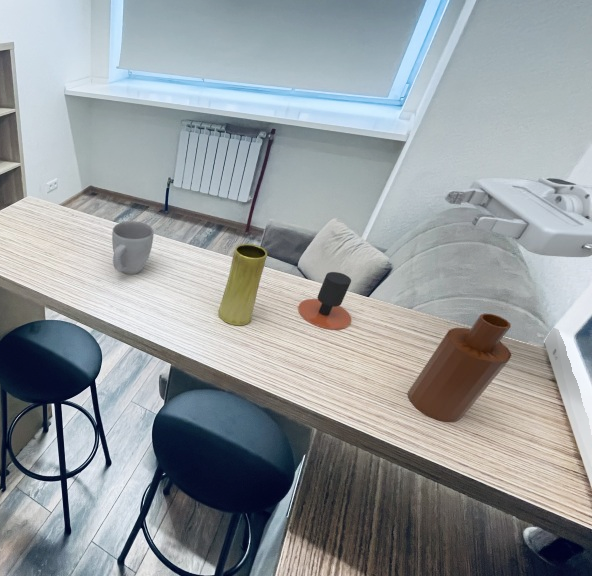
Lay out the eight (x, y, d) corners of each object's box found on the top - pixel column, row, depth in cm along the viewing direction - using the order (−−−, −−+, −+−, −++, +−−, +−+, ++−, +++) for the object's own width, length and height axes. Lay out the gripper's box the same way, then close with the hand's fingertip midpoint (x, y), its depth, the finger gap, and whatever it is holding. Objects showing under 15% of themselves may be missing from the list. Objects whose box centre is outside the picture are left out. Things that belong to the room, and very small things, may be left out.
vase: (212, 308, 80) (225, 244, 72) (240, 303, 81) (256, 240, 73) (228, 328, 75) (245, 262, 67) (257, 322, 76) (278, 257, 68)
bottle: (472, 414, 59) (543, 330, 50) (441, 427, 57) (508, 343, 48) (427, 382, 64) (483, 300, 55) (397, 394, 62) (450, 311, 53)
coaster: (362, 322, 76) (362, 321, 75) (325, 334, 73) (325, 333, 73) (322, 296, 83) (323, 294, 82) (287, 306, 80) (288, 304, 80)
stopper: (340, 316, 77) (356, 281, 72) (324, 321, 76) (339, 286, 71) (323, 304, 80) (337, 270, 75) (307, 309, 79) (321, 274, 74)
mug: (122, 254, 98) (124, 217, 92) (156, 264, 94) (160, 226, 88) (96, 278, 90) (97, 239, 84) (132, 290, 86) (135, 250, 80)
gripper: (613, 275, 52) (483, 260, 55) (522, 210, 68) (426, 202, 71) (652, 230, 48) (511, 217, 52) (546, 173, 64) (444, 166, 68)
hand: (461, 208), depth 62 cm, fingers open, 8 cm apart
